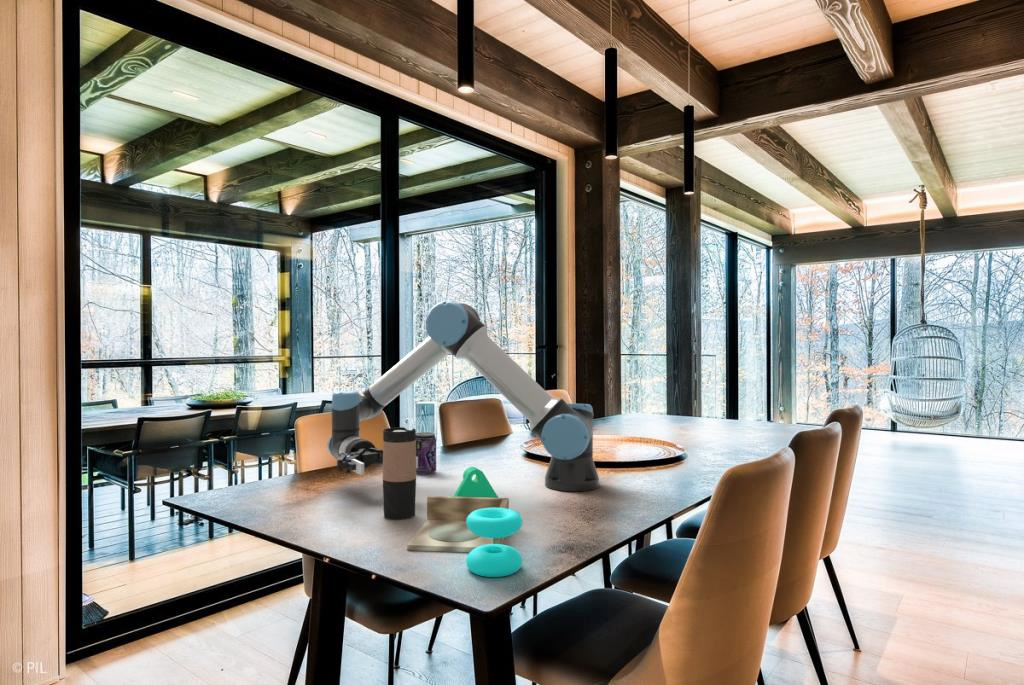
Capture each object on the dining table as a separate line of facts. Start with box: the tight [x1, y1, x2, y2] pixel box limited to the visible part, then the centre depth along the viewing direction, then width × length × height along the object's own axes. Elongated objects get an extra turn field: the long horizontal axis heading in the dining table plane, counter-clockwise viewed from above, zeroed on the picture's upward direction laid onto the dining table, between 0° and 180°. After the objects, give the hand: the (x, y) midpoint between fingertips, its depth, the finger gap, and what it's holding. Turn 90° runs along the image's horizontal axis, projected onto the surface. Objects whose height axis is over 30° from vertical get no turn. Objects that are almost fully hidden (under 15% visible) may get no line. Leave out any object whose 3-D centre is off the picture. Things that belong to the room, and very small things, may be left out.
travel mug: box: [382, 426, 417, 521], centre depth 143 cm, size 8×8×20 cm
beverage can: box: [416, 431, 437, 475], centre depth 190 cm, size 7×7×12 cm
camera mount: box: [447, 466, 499, 498], centre depth 150 cm, size 12×8×10 cm, turn 113°
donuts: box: [465, 507, 523, 578], centre depth 110 cm, size 10×10×10 cm
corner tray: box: [406, 495, 510, 553], centre depth 128 cm, size 18×18×6 cm
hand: (390, 466), depth 147 cm, fingers open, 13 cm apart
